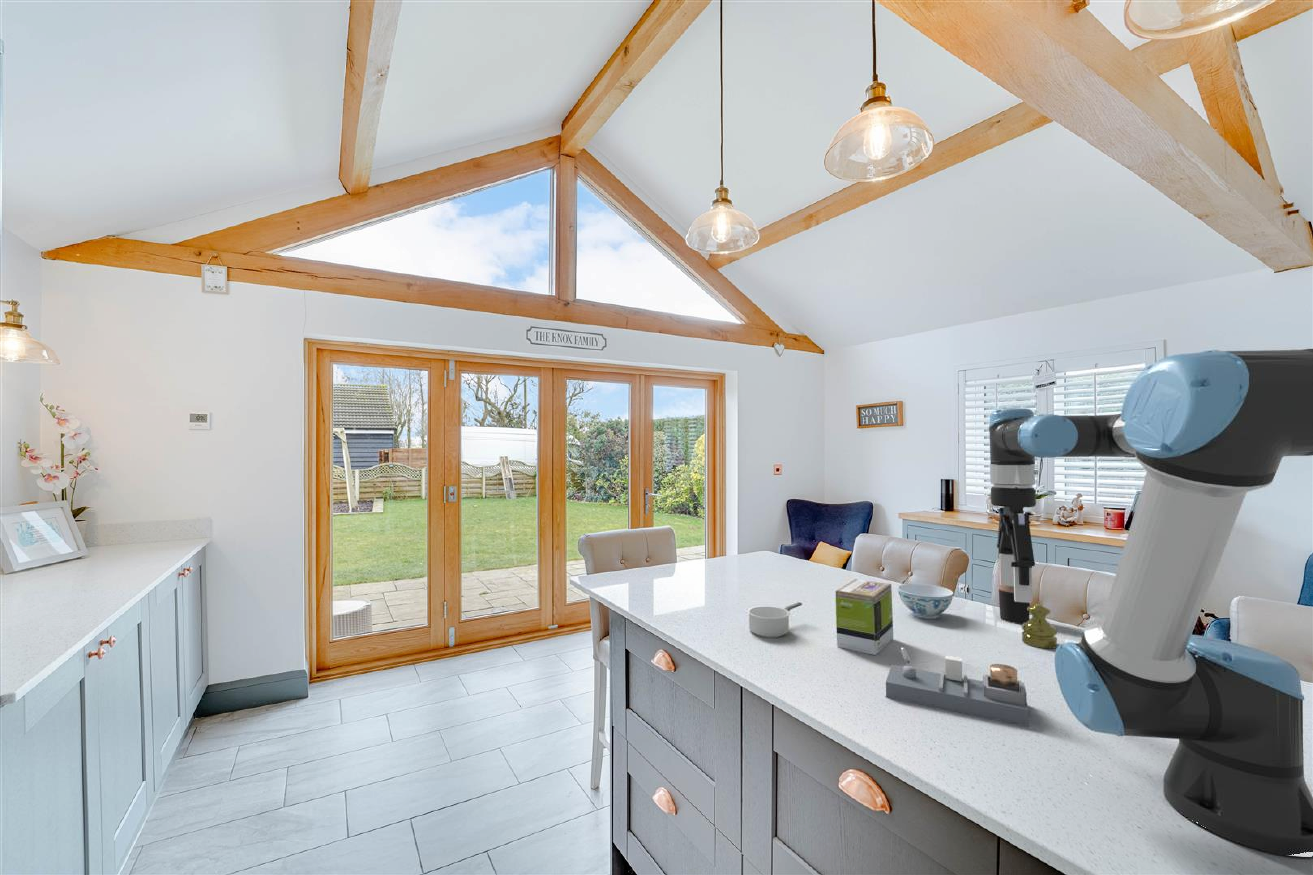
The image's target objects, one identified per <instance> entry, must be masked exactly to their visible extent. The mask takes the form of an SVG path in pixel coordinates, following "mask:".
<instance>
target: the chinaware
mask: <svg viewBox="0 0 1313 875" xmlns="http://www.w3.org/2000/svg"><path fill="white" fill-rule="evenodd" d="M897 591H898V595H899V597H900V600H901V601H902V603H903V604H904V605H905V607H906V608H908V610H909V611H911V612H912V615H913V616H914V617H916V618H920V619H927V620H934V619H937V618H938V617H939V615H940V614H942V613H944V612H945V611H946V610H947V609H948V608H949V607H950V605H951V603H952V601H953V597H954V591H953V590H951V589H948V588H946V587H942V586H939V585H934V584H926V583H904V584H903V583H902V584H899V585H898V586H897Z"/></svg>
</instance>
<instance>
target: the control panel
mask: <svg viewBox="0 0 1313 875" xmlns="http://www.w3.org/2000/svg"><path fill="white" fill-rule="evenodd" d="M885 697H886V698H889V699H895V700H899V701H905V702H908V703H909V702H910V703H913V704H918V705H924V706H928V707H934V708H938V709H941V710H942V709H943V710H947V711H951V712H952V711H953V712H958V713H963V714H968V715H972V716H976V717H981V718H986V719H991V720H996V721H1001V722H1005V723H1010V724H1015V725H1020V726H1023V727H1024V726H1025V727H1030V714H1029V713H1030V710H1029V706H1028V702H1027V691H1026V685H1025V683H1024V682H1023V681H1022V680H1019V679H1017V686H1003V685H999V684H996V683H994V682H992V681H991V679H990V674H985V675H982V680H979V679H974V678H968V675H967V674H963V676H962V681H957V680H952V679H946V678H945V670H940V673H939V672H935V671H934V672H933V671H929V670H923V669H917V668H916V667H914V666H911V665H904V666H901V665H895V664H891V666H890V668H889V671H888V675H887V677H886V681H885Z"/></svg>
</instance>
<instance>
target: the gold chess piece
mask: <svg viewBox="0 0 1313 875" xmlns="http://www.w3.org/2000/svg"><path fill="white" fill-rule="evenodd" d="M1027 610H1028V611H1029V612H1030V614H1031V616H1032V617H1031V618H1029V620H1028V621H1027V622H1024V623H1023V624H1021V629H1022V632H1021V636H1022V637H1021V640H1022V642H1023V643H1025V644H1026V645H1027V646H1031V647H1034V646H1035V647H1034V648H1038V647H1040V648H1039V649H1046V648H1047V650H1049V649H1050V648H1051V649H1055V648H1058V638H1057V636H1056V635H1058V634H1057V633H1058V630H1057V628H1056V627H1055V626H1054V625H1052V624H1051V623H1050V622H1049V621H1048V620H1047V619H1046V617H1047V616H1048V615H1050V614H1051V613H1052V611H1051V610H1050V609H1049V608H1048V607H1046V606H1044V605H1042V604H1039V603H1034V604H1033V605H1031V604H1030V606H1028V607H1027Z"/></svg>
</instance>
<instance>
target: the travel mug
mask: <svg viewBox="0 0 1313 875" xmlns="http://www.w3.org/2000/svg"><path fill="white" fill-rule="evenodd" d="M999 554H1002V553H999V550H998V555H999ZM1013 555H1014V554H1013ZM998 600H999V601H998V602H999V603H998V604H999V617H1000V619H1001V620H1002V619H1003V620H1002V621H1004V620H1005V622H1007V621H1010V622H1009V623H1011V622H1015V623H1014V624H1019V623H1024V622H1027V621H1028V620H1029V619H1030V614H1031V612H1029V611H1028V610H1027V607H1028V606H1031V603H1025V602H1015V601H1014V586H1003V585H1000V557H999V556H998Z"/></svg>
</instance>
